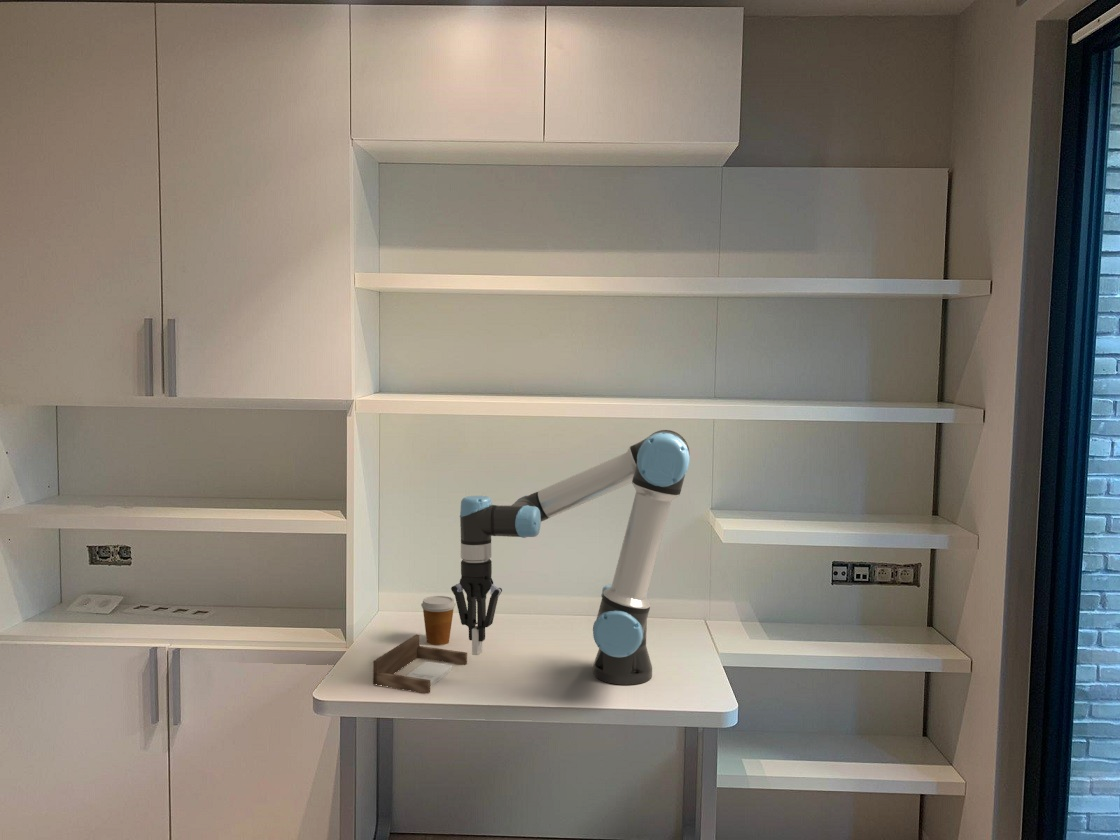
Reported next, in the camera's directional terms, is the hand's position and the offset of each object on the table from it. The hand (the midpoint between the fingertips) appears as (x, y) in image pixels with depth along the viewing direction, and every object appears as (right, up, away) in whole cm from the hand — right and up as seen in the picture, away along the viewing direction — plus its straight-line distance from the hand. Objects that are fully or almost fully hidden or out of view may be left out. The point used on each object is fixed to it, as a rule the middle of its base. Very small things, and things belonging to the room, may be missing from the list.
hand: (477, 653), depth 214 cm
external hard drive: (-13, -8, +4) cm, 16 cm away
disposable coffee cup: (-14, -5, +30) cm, 34 cm away
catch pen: (-14, -7, +5) cm, 16 cm away
